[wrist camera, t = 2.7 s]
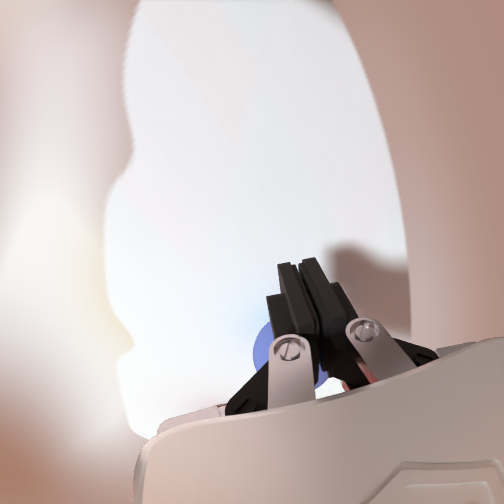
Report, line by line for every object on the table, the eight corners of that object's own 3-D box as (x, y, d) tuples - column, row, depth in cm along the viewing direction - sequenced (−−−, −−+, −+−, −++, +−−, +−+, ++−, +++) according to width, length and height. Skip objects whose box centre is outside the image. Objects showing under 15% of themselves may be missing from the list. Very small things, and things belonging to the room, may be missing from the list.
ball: (243, 304, 20) (251, 371, 15) (324, 287, 21) (352, 349, 15) (255, 354, 24) (264, 415, 18) (323, 340, 24) (344, 397, 18)
